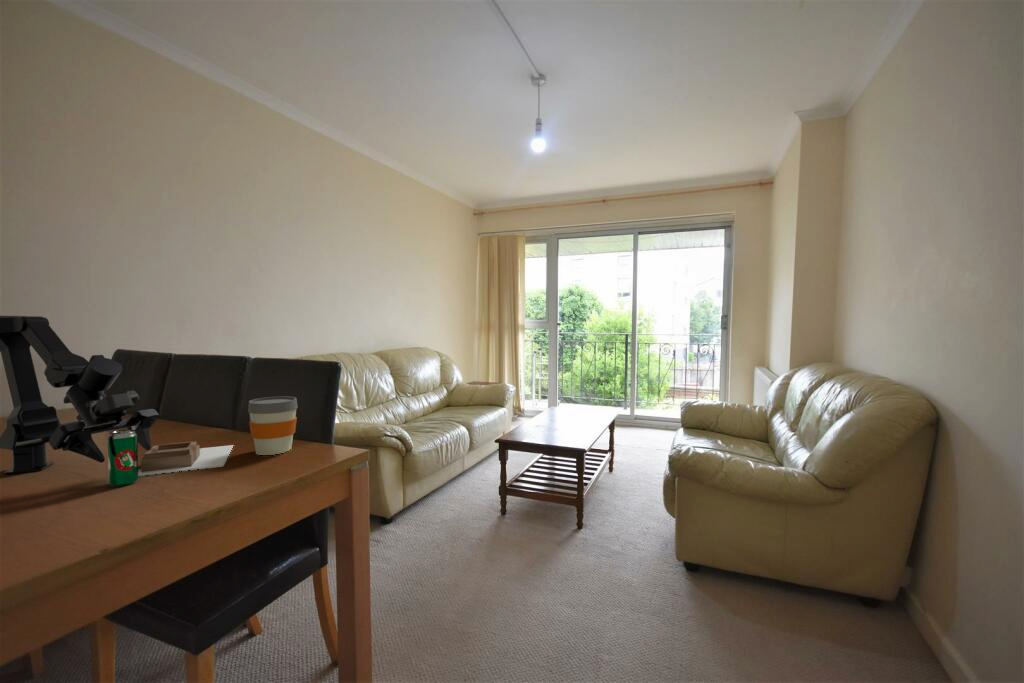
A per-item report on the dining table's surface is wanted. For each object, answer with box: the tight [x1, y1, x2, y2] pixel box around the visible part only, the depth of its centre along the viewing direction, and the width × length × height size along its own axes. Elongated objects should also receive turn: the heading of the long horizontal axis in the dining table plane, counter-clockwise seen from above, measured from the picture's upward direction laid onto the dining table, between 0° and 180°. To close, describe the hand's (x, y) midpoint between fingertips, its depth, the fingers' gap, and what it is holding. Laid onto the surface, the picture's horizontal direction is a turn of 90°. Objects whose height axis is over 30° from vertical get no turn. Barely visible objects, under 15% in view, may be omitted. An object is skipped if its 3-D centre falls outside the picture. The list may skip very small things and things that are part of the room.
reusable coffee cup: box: [247, 395, 298, 456], centre depth 122 cm, size 13×13×15 cm
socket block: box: [140, 440, 201, 472], centre depth 110 cm, size 10×10×5 cm
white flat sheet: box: [138, 444, 235, 477], centre depth 114 cm, size 20×18×1 cm
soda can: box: [106, 429, 140, 488], centre depth 97 cm, size 5×5×12 cm
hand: (127, 455), depth 97 cm, fingers open, 9 cm apart
